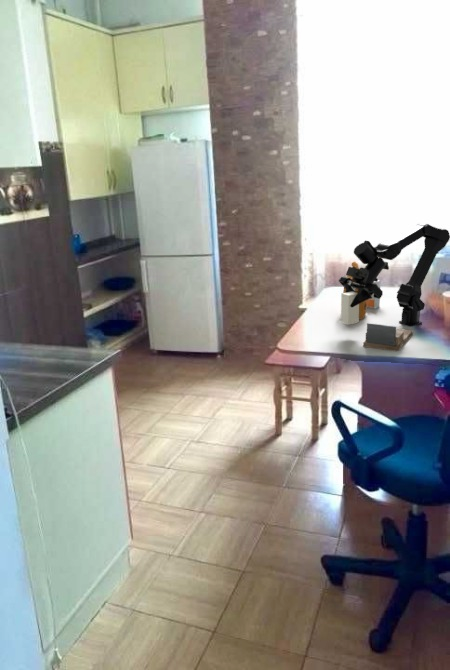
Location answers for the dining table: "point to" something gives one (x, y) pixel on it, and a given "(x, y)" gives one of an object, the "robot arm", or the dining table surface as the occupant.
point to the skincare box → (373, 298)
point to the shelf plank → (395, 348)
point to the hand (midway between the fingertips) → (347, 305)
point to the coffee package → (363, 304)
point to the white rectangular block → (349, 308)
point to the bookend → (381, 334)
